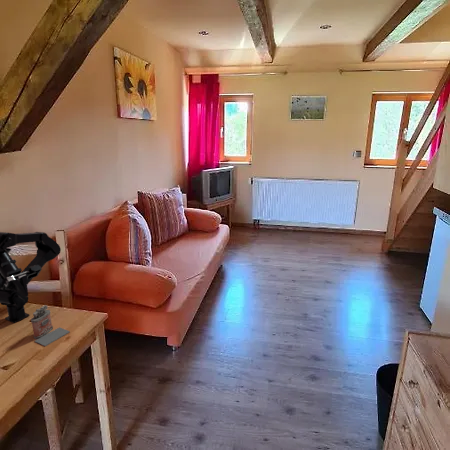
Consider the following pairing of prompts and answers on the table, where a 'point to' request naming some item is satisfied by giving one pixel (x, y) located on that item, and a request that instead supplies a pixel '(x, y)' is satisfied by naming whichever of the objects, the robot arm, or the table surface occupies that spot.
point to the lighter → (41, 322)
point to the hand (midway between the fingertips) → (26, 296)
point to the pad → (52, 336)
